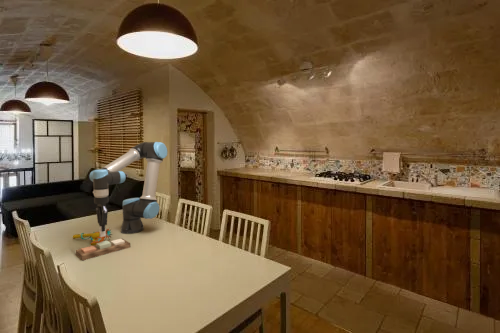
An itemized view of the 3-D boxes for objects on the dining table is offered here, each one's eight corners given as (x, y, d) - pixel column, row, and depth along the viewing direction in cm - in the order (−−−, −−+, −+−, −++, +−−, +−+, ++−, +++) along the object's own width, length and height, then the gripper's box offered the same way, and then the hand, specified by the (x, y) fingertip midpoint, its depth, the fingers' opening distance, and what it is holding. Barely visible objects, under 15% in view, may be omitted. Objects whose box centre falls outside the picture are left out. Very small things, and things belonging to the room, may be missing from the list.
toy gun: (95, 239, 166) (110, 225, 179) (57, 243, 171) (74, 229, 185) (101, 251, 169) (115, 235, 182) (63, 254, 174) (80, 239, 188)
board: (122, 242, 178) (122, 238, 178) (130, 247, 170) (130, 243, 170) (75, 254, 160) (75, 250, 159) (82, 260, 151) (82, 255, 151)
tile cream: (120, 242, 175) (120, 238, 175) (125, 244, 171) (124, 241, 171) (110, 244, 171) (110, 241, 170) (114, 247, 166) (114, 243, 166)
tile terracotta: (92, 249, 163) (92, 245, 163) (96, 252, 159) (96, 248, 159) (81, 252, 159) (81, 248, 159) (84, 255, 155) (84, 251, 155)
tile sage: (107, 244, 169) (107, 240, 169) (111, 247, 165) (111, 243, 165) (96, 247, 165) (96, 243, 164) (100, 249, 161) (100, 245, 160)
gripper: (90, 195, 164) (91, 235, 166) (98, 198, 155) (99, 240, 157) (104, 194, 169) (105, 232, 171) (112, 196, 160) (113, 237, 162)
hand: (102, 236), depth 164 cm, fingers closed
